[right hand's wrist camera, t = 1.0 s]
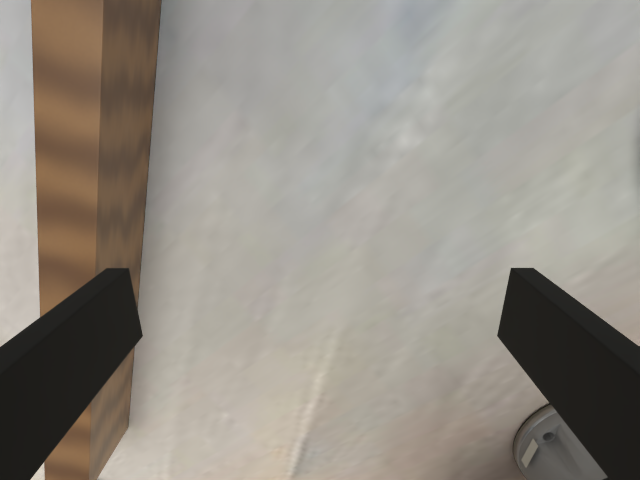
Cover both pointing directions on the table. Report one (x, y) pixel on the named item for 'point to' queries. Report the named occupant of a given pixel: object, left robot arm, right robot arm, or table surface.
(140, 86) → the post
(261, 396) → the table surface
